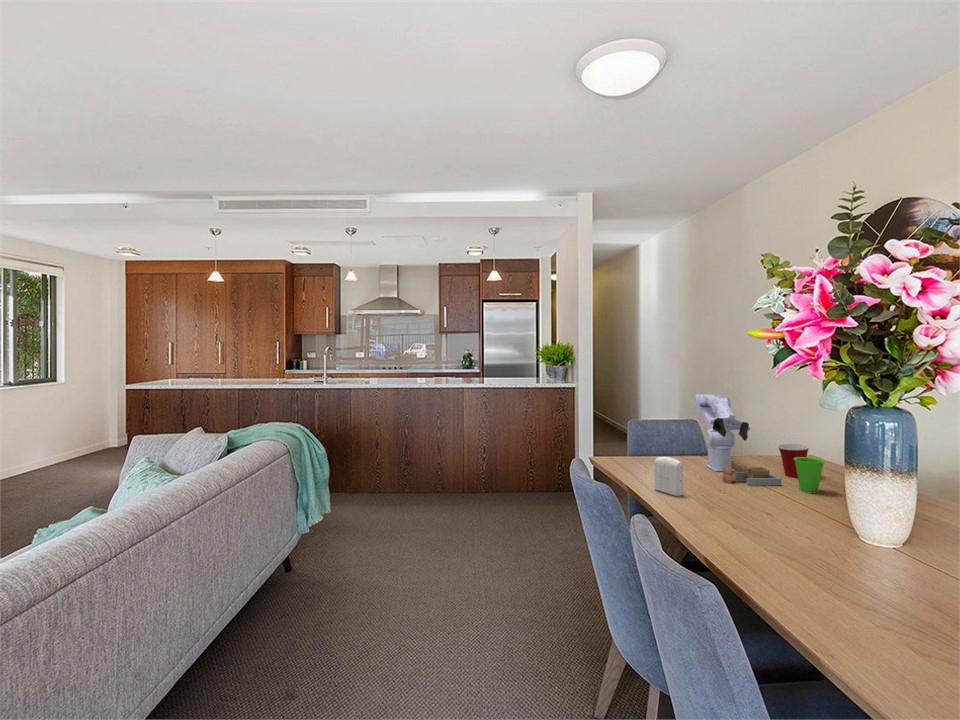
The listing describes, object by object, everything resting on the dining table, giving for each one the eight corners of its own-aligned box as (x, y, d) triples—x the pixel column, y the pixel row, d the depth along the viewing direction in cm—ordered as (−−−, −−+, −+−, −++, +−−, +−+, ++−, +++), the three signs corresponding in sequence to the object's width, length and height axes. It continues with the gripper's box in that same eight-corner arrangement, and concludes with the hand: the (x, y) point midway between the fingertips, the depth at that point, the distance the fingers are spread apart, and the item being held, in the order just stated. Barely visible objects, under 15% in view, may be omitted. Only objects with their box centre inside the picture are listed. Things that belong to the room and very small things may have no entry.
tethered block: (720, 480, 192) (720, 464, 192) (761, 480, 191) (762, 464, 191) (726, 484, 187) (726, 467, 187) (769, 484, 186) (769, 467, 186)
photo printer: (685, 495, 173) (685, 459, 173) (677, 497, 171) (677, 460, 171) (660, 488, 182) (660, 454, 182) (652, 490, 180) (652, 455, 180)
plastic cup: (771, 472, 203) (771, 442, 203) (799, 472, 203) (799, 442, 203) (786, 479, 192) (786, 448, 192) (815, 479, 192) (816, 448, 192)
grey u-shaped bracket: (734, 478, 194) (734, 472, 194) (766, 478, 194) (766, 472, 194) (748, 485, 184) (748, 479, 184) (781, 485, 184) (781, 478, 184)
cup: (830, 494, 172) (830, 462, 172) (803, 494, 172) (803, 462, 172) (813, 487, 181) (813, 457, 181) (788, 487, 181) (788, 457, 181)
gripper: (710, 405, 200) (718, 423, 188) (748, 411, 198) (759, 431, 186) (705, 420, 203) (712, 439, 191) (742, 426, 201) (752, 446, 189)
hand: (735, 436), depth 189 cm, fingers open, 7 cm apart
